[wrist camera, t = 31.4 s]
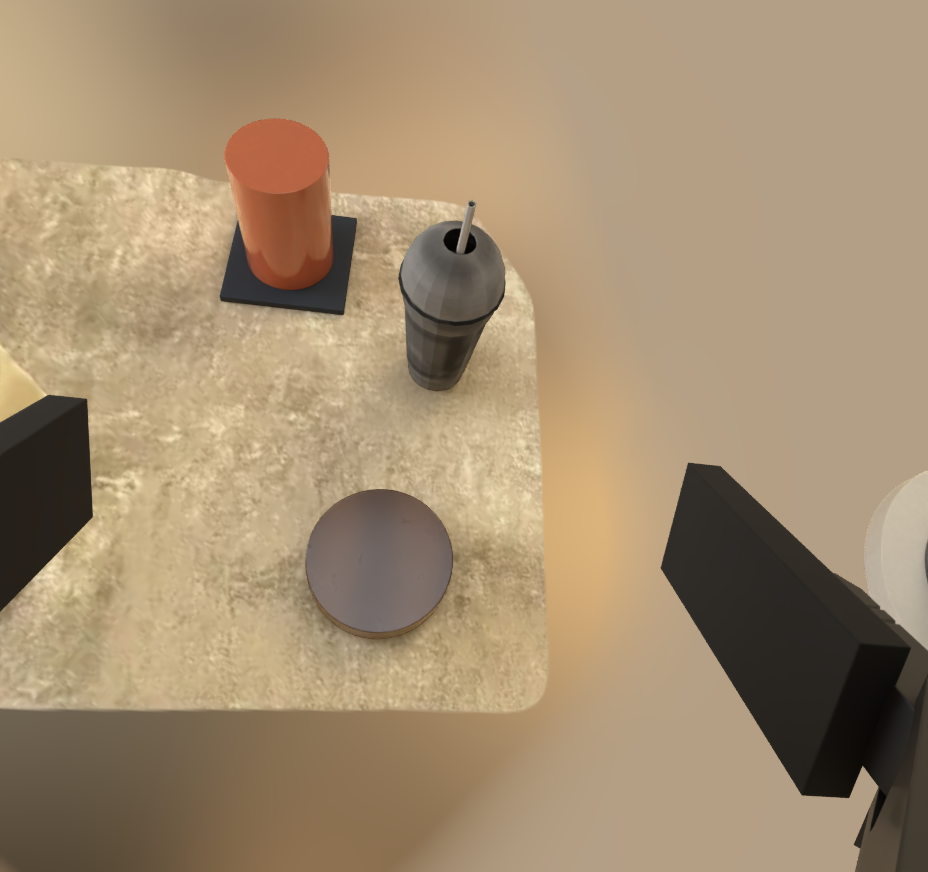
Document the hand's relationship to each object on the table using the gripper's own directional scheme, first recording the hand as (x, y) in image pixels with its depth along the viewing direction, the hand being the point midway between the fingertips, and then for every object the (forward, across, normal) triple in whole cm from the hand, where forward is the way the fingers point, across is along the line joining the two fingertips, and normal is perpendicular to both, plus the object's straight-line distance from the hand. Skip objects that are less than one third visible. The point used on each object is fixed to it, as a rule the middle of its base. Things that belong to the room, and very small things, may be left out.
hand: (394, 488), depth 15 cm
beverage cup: (+42, +3, -8) cm, 43 cm away
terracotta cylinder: (+48, -10, -1) cm, 49 cm away
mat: (+48, -10, -1) cm, 49 cm away
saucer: (+30, 0, -20) cm, 36 cm away
